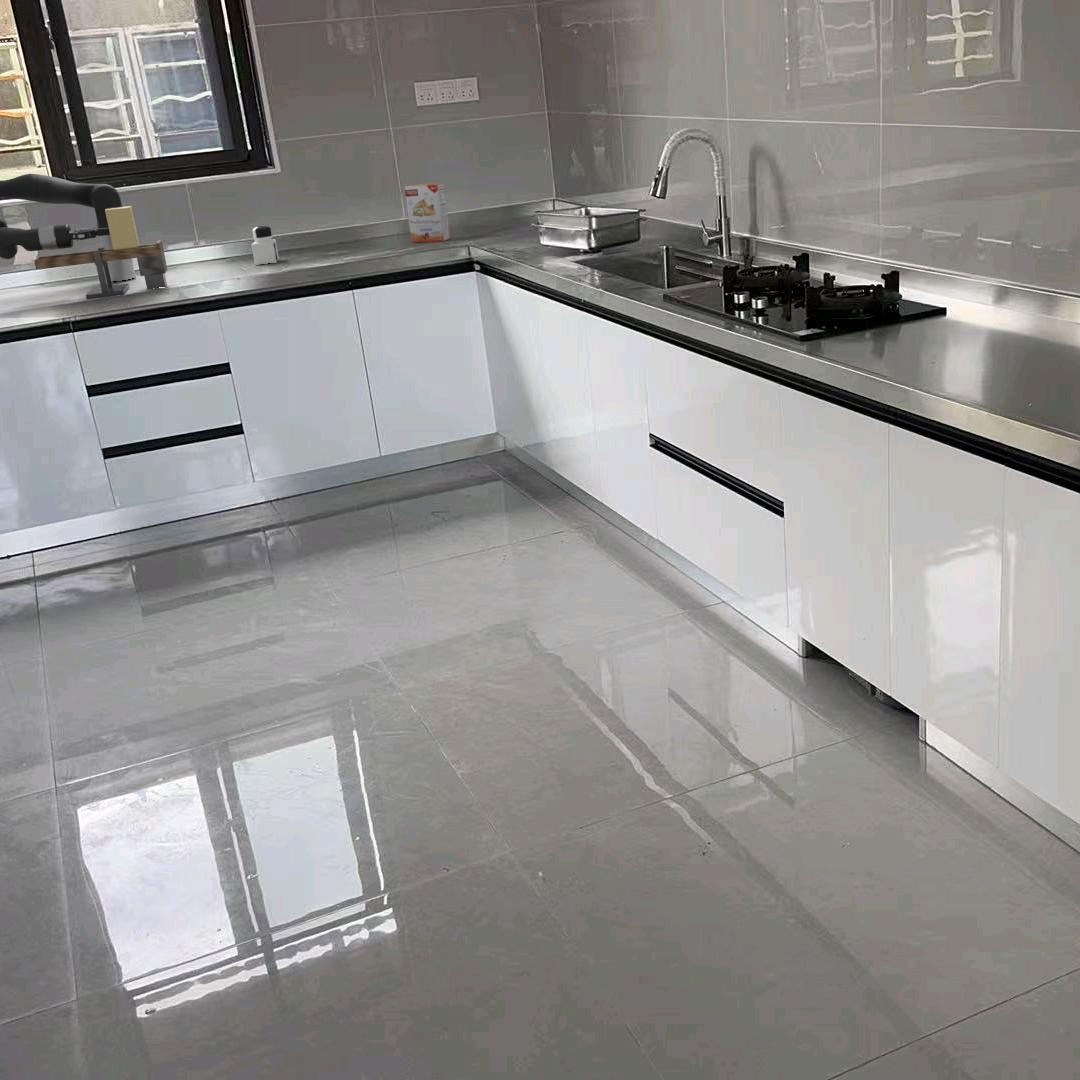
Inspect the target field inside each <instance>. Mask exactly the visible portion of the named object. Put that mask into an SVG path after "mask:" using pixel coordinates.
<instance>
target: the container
mask: <svg viewBox="0 0 1080 1080" xmlns="http://www.w3.org/2000/svg"><path fill="white" fill-rule="evenodd" d="M251 231H252V236H253V240H254V242H252V243H251V245H250V246H251V250H252V256H253V261H254V265H255V266H261V265H260V264H265V265H269V264H268V263H275V264H277V263H278V262H279V261H280V257H279V251H278V244H277V240H276V239H272V238H273V235H272V228H271V226H267V225H265V226H263V225H262V226H256V227H254V228H253V229H252V230H251ZM278 260H279V261H278ZM277 261H278V262H277Z"/></svg>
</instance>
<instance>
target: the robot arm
mask: <svg viewBox="0 0 1080 1080" xmlns="http://www.w3.org/2000/svg"><path fill="white" fill-rule="evenodd" d="M0 198H6V199H14V200H21V201H22V200H24V201H29V202H36V203H40V204H41V203H43V204H54V205H66V204H68V205H80V206H84V207H89V208H93V209H94V212H95V216H96V225H97V228H96V227H93V228H92V227H83V228H82V227H77V228H75V229H74V230H71V227H70V225H69V224H66V223H65V224H58V225H57V224H56V225H47V226H43V227H37V228H29V229H24V228H18V227H17V228H16V227H8V224H7V220H6V219H5V217H4V215H3V212H2V210H1V209H0V258H1V259H3V260H11V259H13V258H14V257H16V255H17V254H18V249H19V247H18V246H20V247H22V248H23V249H24V250H25V251H27V252H36V251H37V252H39V251H53V250H54V251H55V250H61V249H71V248H73V247H74V241H76V240H77V241H76V242H78V243H79V242H83V241H88V240H92V239H96V238H99V239H100V243H101V244H100V245H101V248H103V247H104V248H105V249H113V245H112V241H111V236H110V231H109V227H108V222H107V217H106V213H105V210H106V209H109V208H118V207H123V205H122V200H121V199H122V198H121V195H120V193H119V192H118V190H117V189H116V188H115V187H114V186H112V185H110V184H106V183H82V182H74V181H71V180H68V179H64V178H59V177H55V176H52V175H51V176H50V175H45V174H38V173H25V174H23V175H18V176H16V177H12V178H9V179H5V180H0ZM107 262H108V266H109V271H110V275H111V280H112V283H114V282H113V281H117V282H123V281H122V280H126V281H129V280H128V279H131V280H133V279H132V278H134V279H136V278H137V275H136V271H135V267H134V262H133V258H132V259H123V260H115V261H107ZM135 277H136V278H135Z"/></svg>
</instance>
